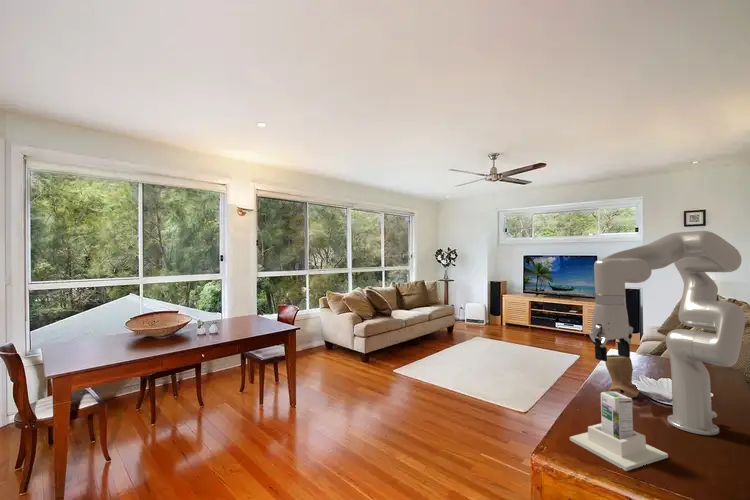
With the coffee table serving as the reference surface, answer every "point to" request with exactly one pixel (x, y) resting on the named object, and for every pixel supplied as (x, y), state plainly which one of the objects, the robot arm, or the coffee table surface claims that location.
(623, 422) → the syrup box
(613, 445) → the dock socket
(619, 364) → the tan boot
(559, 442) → the coffee table surface
